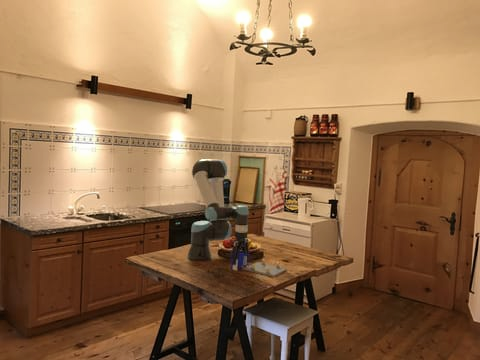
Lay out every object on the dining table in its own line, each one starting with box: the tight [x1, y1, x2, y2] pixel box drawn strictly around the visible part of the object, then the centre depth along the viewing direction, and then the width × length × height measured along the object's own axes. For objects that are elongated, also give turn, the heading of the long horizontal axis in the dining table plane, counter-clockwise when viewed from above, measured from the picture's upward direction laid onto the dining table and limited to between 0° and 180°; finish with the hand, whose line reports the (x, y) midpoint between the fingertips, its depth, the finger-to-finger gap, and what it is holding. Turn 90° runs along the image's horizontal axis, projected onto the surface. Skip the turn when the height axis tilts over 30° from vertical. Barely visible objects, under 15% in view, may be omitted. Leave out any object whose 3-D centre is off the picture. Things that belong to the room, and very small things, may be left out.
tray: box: [243, 258, 287, 278], centre depth 241 cm, size 20×16×4 cm
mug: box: [229, 249, 251, 270], centre depth 242 cm, size 8×12×10 cm
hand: (239, 267), depth 243 cm, fingers open, 9 cm apart
